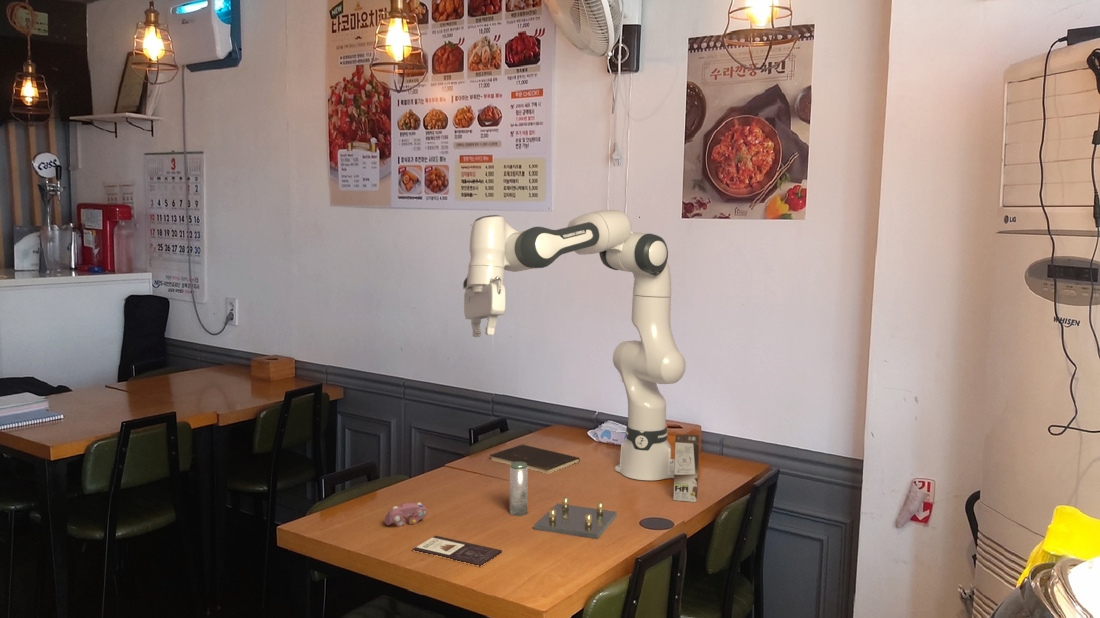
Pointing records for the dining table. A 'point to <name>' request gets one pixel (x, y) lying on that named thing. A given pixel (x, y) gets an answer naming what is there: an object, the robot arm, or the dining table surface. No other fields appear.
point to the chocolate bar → (458, 550)
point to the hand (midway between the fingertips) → (483, 335)
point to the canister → (518, 488)
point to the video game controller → (406, 514)
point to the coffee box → (686, 467)
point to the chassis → (576, 520)
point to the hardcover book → (535, 458)
